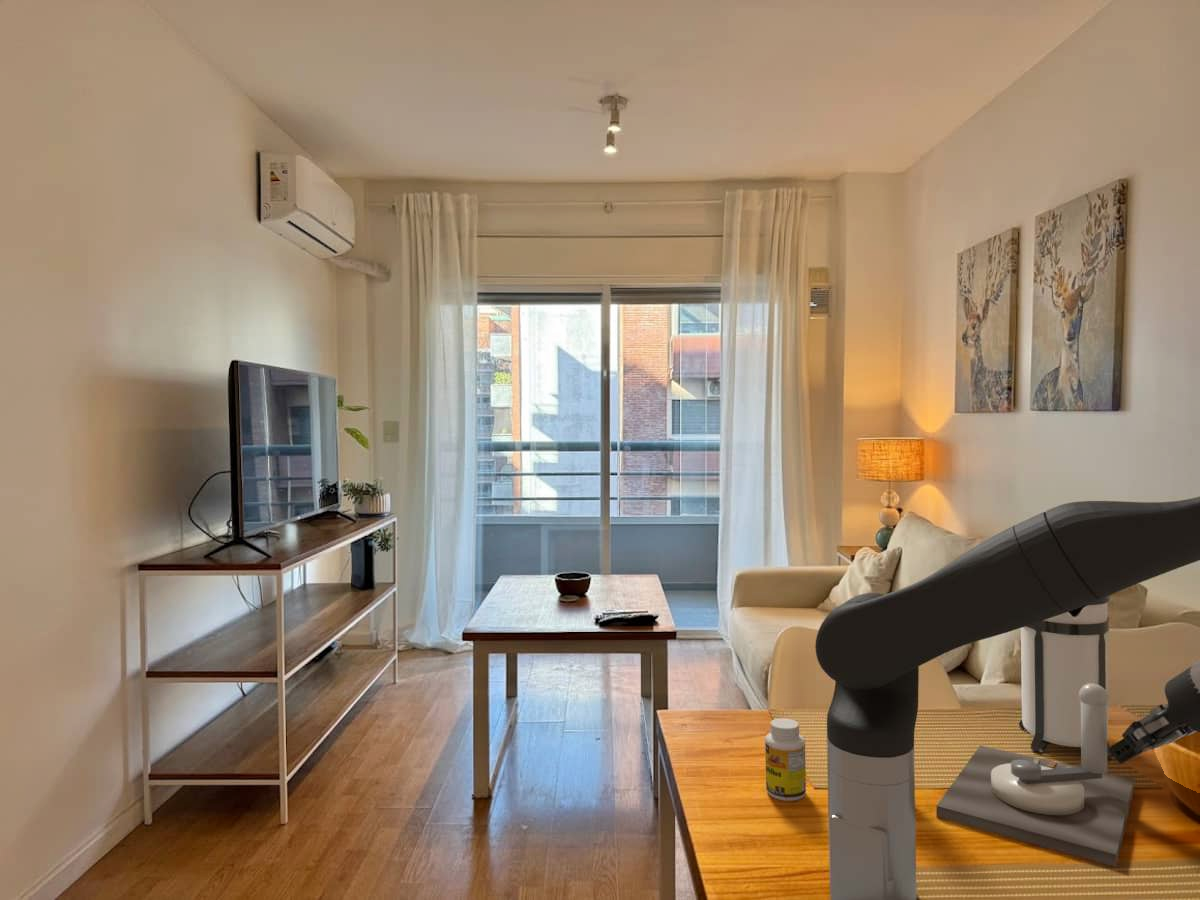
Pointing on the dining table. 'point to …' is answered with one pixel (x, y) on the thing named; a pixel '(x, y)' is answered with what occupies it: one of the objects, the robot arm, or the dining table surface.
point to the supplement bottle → (785, 761)
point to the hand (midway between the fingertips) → (1117, 755)
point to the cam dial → (1061, 787)
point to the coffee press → (1062, 672)
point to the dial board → (1075, 834)
